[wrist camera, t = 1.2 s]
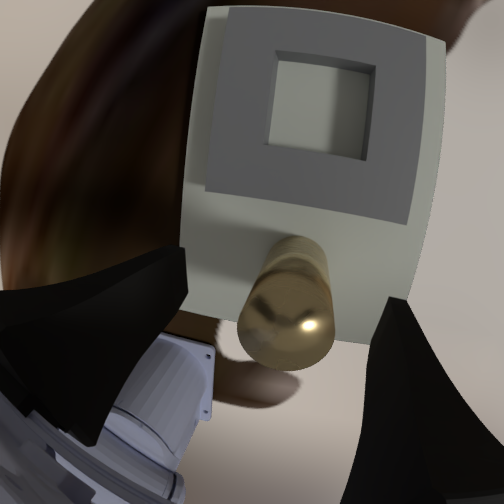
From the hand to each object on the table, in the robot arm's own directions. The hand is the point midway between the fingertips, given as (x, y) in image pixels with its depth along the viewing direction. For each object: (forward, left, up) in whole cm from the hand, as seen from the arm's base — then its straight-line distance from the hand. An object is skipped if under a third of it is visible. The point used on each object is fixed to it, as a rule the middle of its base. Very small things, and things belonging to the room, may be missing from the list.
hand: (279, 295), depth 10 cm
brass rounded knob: (-2, 0, -9) cm, 10 cm away
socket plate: (+4, 0, -10) cm, 11 cm away
